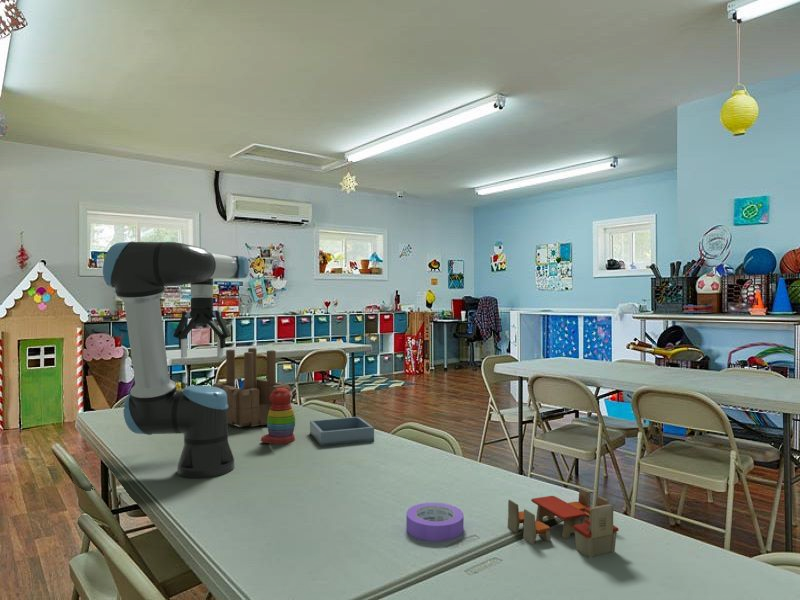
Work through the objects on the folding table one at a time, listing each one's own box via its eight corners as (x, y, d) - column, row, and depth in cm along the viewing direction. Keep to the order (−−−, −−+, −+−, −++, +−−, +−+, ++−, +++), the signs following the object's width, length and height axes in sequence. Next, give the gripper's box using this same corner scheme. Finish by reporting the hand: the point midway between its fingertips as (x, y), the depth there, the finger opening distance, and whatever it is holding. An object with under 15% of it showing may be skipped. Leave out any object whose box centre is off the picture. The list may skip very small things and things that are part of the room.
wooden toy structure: (241, 428, 198) (241, 355, 198) (207, 416, 220) (207, 349, 220) (295, 419, 214) (294, 350, 214) (258, 408, 236) (257, 346, 236)
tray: (374, 440, 180) (374, 427, 180) (321, 446, 174) (320, 432, 174) (358, 428, 197) (358, 416, 197) (310, 433, 190) (309, 420, 190)
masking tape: (474, 530, 110) (474, 511, 110) (440, 550, 102) (440, 530, 102) (430, 515, 118) (430, 498, 118) (394, 532, 110) (394, 514, 110)
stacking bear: (283, 434, 189) (283, 384, 189) (302, 439, 183) (302, 387, 183) (258, 441, 181) (257, 388, 181) (277, 446, 174) (276, 391, 174)
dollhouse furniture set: (577, 514, 118) (577, 469, 118) (645, 551, 101) (644, 499, 101) (502, 528, 111) (502, 481, 111) (561, 571, 94) (561, 515, 94)
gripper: (240, 297, 191) (240, 356, 190) (175, 297, 195) (175, 356, 194) (230, 296, 183) (230, 358, 183) (163, 297, 187) (163, 358, 187)
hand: (202, 357), depth 189 cm, fingers open, 13 cm apart
